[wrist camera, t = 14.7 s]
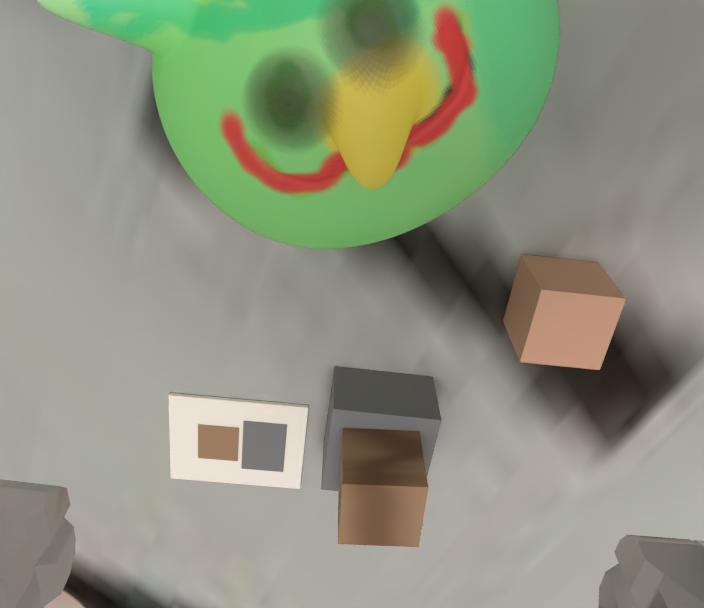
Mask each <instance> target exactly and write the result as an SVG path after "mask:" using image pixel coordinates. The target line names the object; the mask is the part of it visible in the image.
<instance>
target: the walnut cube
mask: <svg viewBox="0 0 704 608" xmlns="http://www.w3.org/2000/svg"><path fill="white" fill-rule="evenodd" d="M427 492H428V483H427V476H426V470H425V463H424V457H423V450H422V444H421V437H420V431H407V430H384V429H361V428H343V432H342V446H341V460H340V474H339V503H338V544H354V545H381V546H408V547H419V541H420V535H421V529H422V523H423V516H424V510H425V504H426V498H427Z"/></svg>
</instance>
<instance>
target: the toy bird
mask: <svg viewBox="0 0 704 608" xmlns="http://www.w3.org/2000/svg"><path fill="white" fill-rule="evenodd" d="M36 1H37V2H38V3H39V4H40V5H41V6H42V7H44V8H45V9H47V10H48V11H50V12H52V13H53V14H55V15H57V16H60V17H62V18H64V19H66V20H69V21H71V22H73V23H76V24H79V25H81V26H84V27H87V28H89V29H92V30H95V31H98V32H101V33H104V34H106V35H109V36H112V37H115V38H118V39H121V40H124V41H127V42H129V43H132V44H135V45H137V46H140V47H143V48H145V49H147V50H149V51H151V52H152V80H153V88H154V94H155V100H156V104H157V108H158V112H159V116H160V119H161V122H162V125H163V128H164V131H165V133H166V136H167V138H168V140H169V142H170V145H171V147H172V149H173V151H174V153H175V155H176V156H177V158H178V160H179V162H180V163H181V165H182V166H183V168H184V169H185V171H186V172H187V174H188V175H189V177H190V178H191V179H192V181H193V182H194V183H195V184H196V186H197V187H198V188H199V189H200V190H201V191H202V192H203V194H204V195H205V196H206V197H207V198H208V199H209V200H210V201H211V202H212V203H213V204H214V205H216V206H217V207H218V208H219V209H220V210H221V211H223V212H224V213H225V214H226V215H228V216H229V217H230V218H232V219H233V220H235V221H236V222H238V223H239V224H241V225H242V226H244V227H246V228H248V229H249V230H251V231H253V232H255V233H257V234H259V235H261V236H264V237H266V238H269V239H271V240H274V241H277V242H280V243H284V244H288V245H292V246H297V247H304V248H314V249H337V248H348V247H355V246H361V245H366V244H370V243H374V242H378V241H382V240H385V239H388V238H391V237H394V236H397V235H400V234H403V233H405V232H408V231H410V230H412V229H415V228H417V227H419V226H421V225H423V224H425V223H427V222H429V221H431V220H433V219H435V218H437V217H438V216H440V215H442V214H444V213H445V212H447V211H448V210H450V209H452V208H453V207H455V206H456V205H458V204H459V203H460V202H462V201H463V200H465V199H466V198H467V197H469V196H470V195H471V194H473V193H474V192H475V191H476V190H478V189H479V188H480V187H481V186H482V185H483V184H485V183H486V182H487V181H488V180H489V179H490V178H491V177H492V176H493V175H494V174H495V173H496V172H497V171H498V170H499V169H500V168H501V167H502V166H503V165H504V164H505V163H506V162H507V161H508V160H509V158H510V157H511V156H512V155H513V154H514V152H515V151H516V150H517V149H518V147H519V146H520V145H521V143H522V142H523V140H524V139H525V138H526V136H527V135H528V133H529V132H530V130H531V128H532V127H533V125H534V123H535V121H536V120H537V118H538V116H539V114H540V112H541V110H542V108H543V105H544V103H545V101H546V98H547V96H548V93H549V90H550V87H551V84H552V80H553V76H554V72H555V68H556V63H557V56H558V48H559V30H560V26H559V8H558V0H36Z"/></svg>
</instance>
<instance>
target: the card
mask: <svg viewBox="0 0 704 608" xmlns="http://www.w3.org/2000/svg"><path fill="white" fill-rule="evenodd" d="M307 415H308V405H300V404H289V403H278V402H267V401H256V400H245V399H234V398H223V397H211V396H200V395H189V394H178V393H169V427H170V464H171V478H174V479H186V480H199V481H211V482H223V483H235V484H247V485H259V486H272V487H284V488H296V489H300V482H301V472H302V463H303V453H304V444H305V434H306V424H307Z"/></svg>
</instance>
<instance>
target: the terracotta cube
mask: <svg viewBox="0 0 704 608" xmlns="http://www.w3.org/2000/svg"><path fill="white" fill-rule="evenodd" d="M625 301H626V298H625V297H624V295H623V294H622V293H621V292H620V290H619V289H618V288H617V287H616V285H615V284H614V283H613V282H612V280H611V279H610V278H609V277H608V275H607V274H606V273H605V272H604V270H603V269H602V268H601V267H600V265H599V264H598V263H597V262H588V261H579V260H570V259H561V258H552V257H543V256H534V255H525V254H521V257H520V261H519V264H518V268H517V272H516V275H515V279H514V283H513V286H512V290H511V294H510V297H509V301H508V305H507V308H506V312H505V316H504V319H503V322H504V325H505V327H506V330H507V332H508V334H509V337H510V339H511V342H512V344H513V346H514V349H515V351H516V353H517V356H518V358H519V361H520V362H525V363H535V364H545V365H555V366H565V367H575V368H585V369H595V370H600V368H601V365H602V362H603V360H604V357H605V354H606V352H607V349H608V346H609V344H610V341H611V338H612V335H613V333H614V330H615V327H616V325H617V322H618V319H619V317H620V314H621V311H622V309H623V306H624V303H625Z"/></svg>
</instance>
